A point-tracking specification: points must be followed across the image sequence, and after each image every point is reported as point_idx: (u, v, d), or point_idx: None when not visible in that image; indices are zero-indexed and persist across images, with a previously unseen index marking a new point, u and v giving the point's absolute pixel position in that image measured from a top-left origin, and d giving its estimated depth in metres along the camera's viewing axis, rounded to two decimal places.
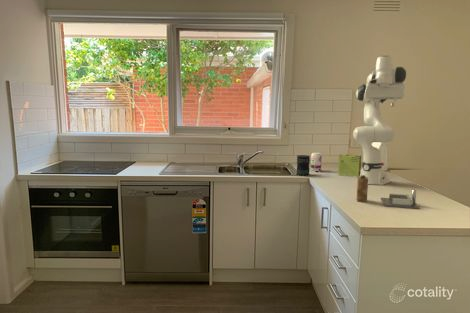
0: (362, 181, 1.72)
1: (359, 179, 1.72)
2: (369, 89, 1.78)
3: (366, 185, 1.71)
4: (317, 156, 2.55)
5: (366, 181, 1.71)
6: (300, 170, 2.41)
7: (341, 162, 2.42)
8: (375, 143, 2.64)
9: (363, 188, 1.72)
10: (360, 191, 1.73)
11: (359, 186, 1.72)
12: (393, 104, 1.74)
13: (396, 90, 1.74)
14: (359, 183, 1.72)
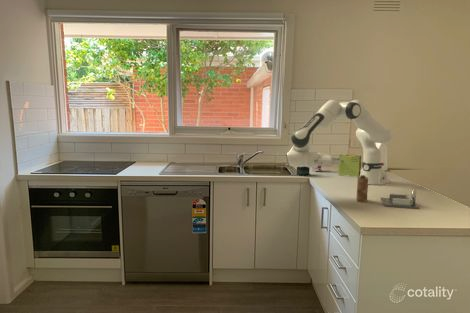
0: (362, 181, 1.72)
1: (359, 179, 1.72)
2: None
3: (366, 185, 1.71)
4: None
5: (366, 181, 1.71)
6: (300, 170, 2.41)
7: (341, 162, 2.42)
8: (375, 143, 2.64)
9: (363, 188, 1.72)
10: (360, 191, 1.73)
11: (359, 186, 1.72)
12: None
13: None
14: (359, 183, 1.72)
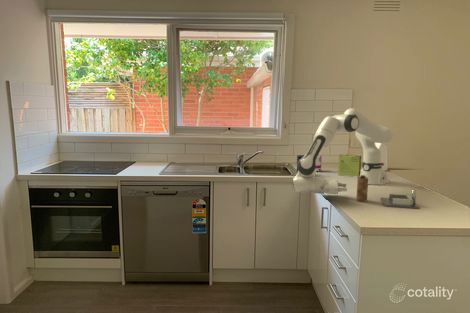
0: (362, 181, 1.72)
1: (359, 179, 1.72)
2: None
3: (366, 185, 1.71)
4: None
5: (366, 181, 1.71)
6: None
7: (341, 162, 2.42)
8: (375, 143, 2.64)
9: (363, 188, 1.72)
10: (360, 191, 1.73)
11: (359, 186, 1.72)
12: None
13: None
14: (359, 183, 1.72)
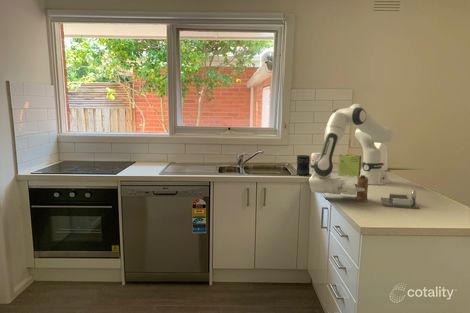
0: (362, 181, 1.72)
1: (359, 179, 1.72)
2: None
3: (366, 185, 1.71)
4: (317, 156, 2.55)
5: (366, 181, 1.71)
6: (300, 170, 2.41)
7: (341, 162, 2.42)
8: (375, 143, 2.64)
9: None
10: (360, 191, 1.73)
11: (359, 186, 1.72)
12: None
13: None
14: (359, 183, 1.72)
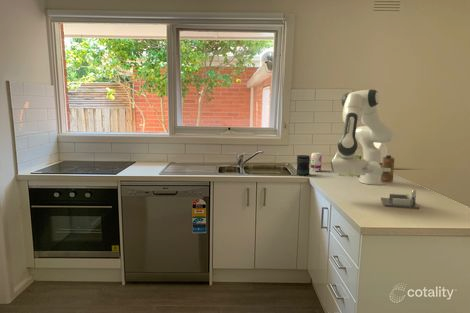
0: (388, 161, 1.66)
1: (385, 159, 1.66)
2: None
3: (392, 165, 1.66)
4: (317, 156, 2.55)
5: (392, 161, 1.65)
6: (300, 170, 2.41)
7: None
8: (375, 143, 2.64)
9: None
10: None
11: (385, 166, 1.67)
12: None
13: None
14: (385, 163, 1.66)
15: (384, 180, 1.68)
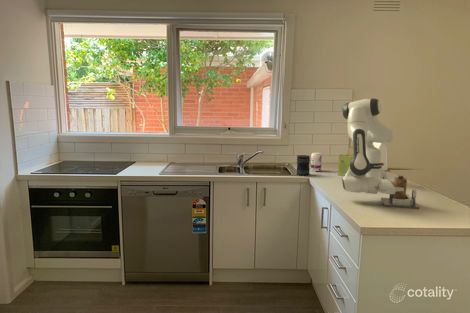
0: (400, 182, 1.65)
1: (397, 180, 1.65)
2: None
3: (405, 186, 1.65)
4: (317, 156, 2.55)
5: (405, 182, 1.65)
6: (300, 170, 2.41)
7: (341, 162, 2.42)
8: (375, 143, 2.64)
9: None
10: (398, 192, 1.66)
11: None
12: None
13: None
14: (397, 184, 1.66)
15: None
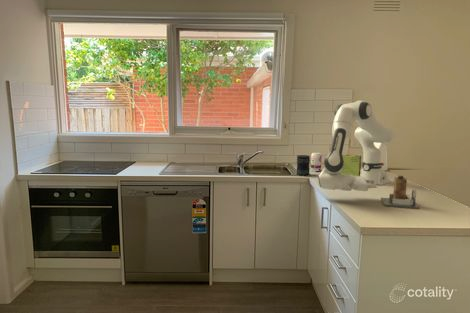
0: (400, 182, 1.65)
1: (397, 180, 1.65)
2: None
3: (405, 186, 1.65)
4: (317, 156, 2.55)
5: (405, 182, 1.65)
6: (300, 170, 2.41)
7: None
8: (375, 143, 2.64)
9: (401, 189, 1.65)
10: (398, 192, 1.66)
11: (397, 187, 1.66)
12: None
13: None
14: (397, 184, 1.66)
15: None
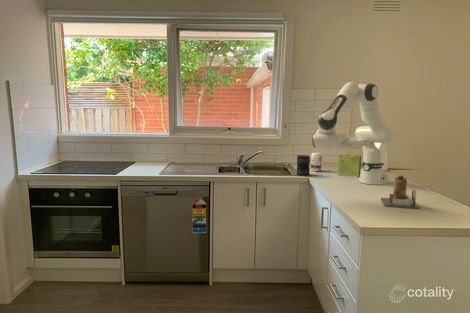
0: (400, 182, 1.65)
1: (397, 180, 1.65)
2: None
3: (405, 186, 1.65)
4: (317, 156, 2.55)
5: (405, 182, 1.65)
6: (300, 170, 2.41)
7: (341, 162, 2.42)
8: (375, 143, 2.64)
9: (401, 189, 1.65)
10: (398, 192, 1.66)
11: (397, 187, 1.66)
12: (368, 145, 1.68)
13: None
14: (397, 184, 1.66)
15: None
